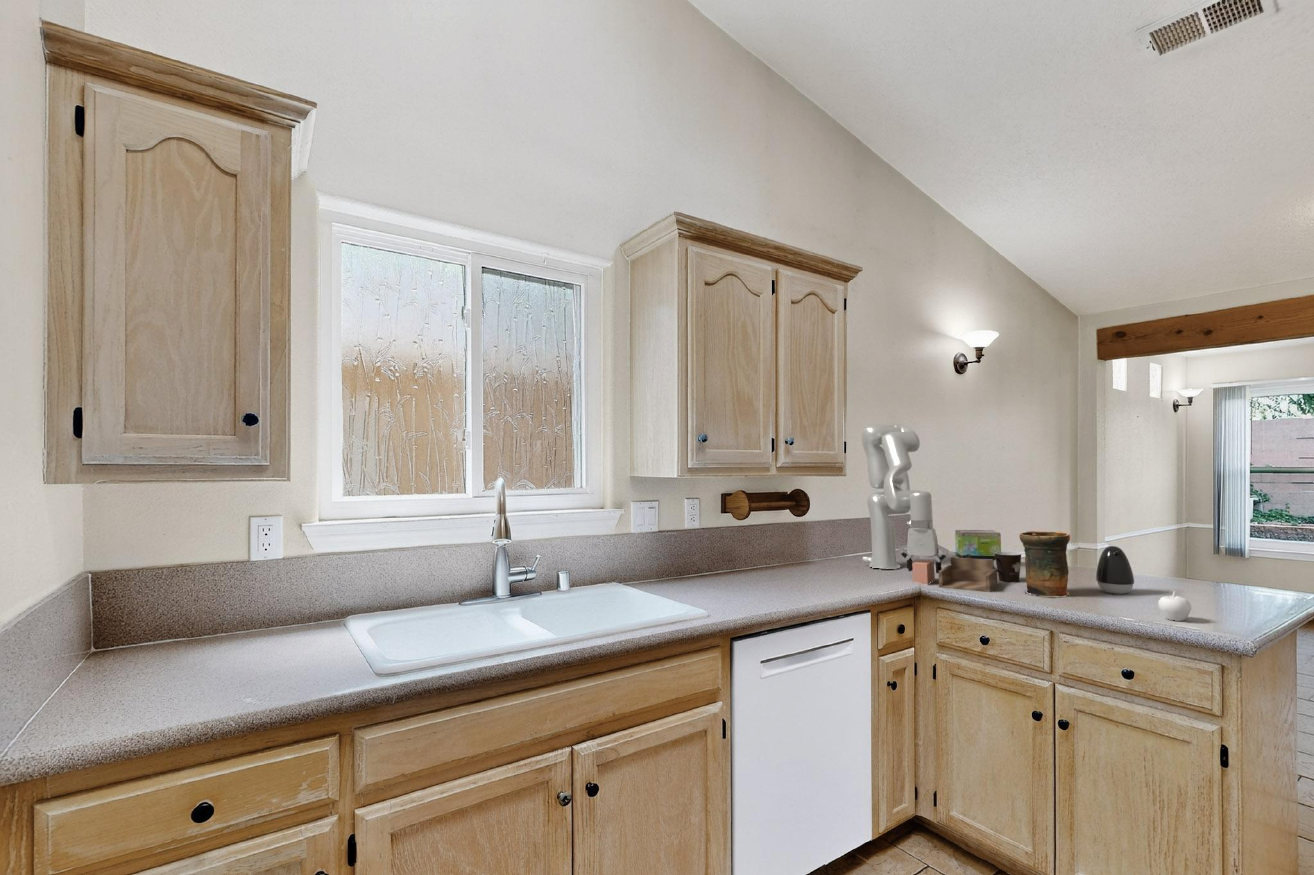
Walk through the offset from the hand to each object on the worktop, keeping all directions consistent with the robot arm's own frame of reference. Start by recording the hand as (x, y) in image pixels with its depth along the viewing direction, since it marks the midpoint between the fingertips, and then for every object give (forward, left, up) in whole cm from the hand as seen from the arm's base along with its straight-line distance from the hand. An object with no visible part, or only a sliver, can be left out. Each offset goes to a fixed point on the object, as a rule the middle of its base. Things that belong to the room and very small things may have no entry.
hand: (924, 571), depth 233 cm
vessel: (+39, -1, -4) cm, 39 cm away
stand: (+15, 0, -4) cm, 15 cm away
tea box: (+10, +45, -4) cm, 47 cm away
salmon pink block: (0, 0, -4) cm, 4 cm away
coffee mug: (+24, +16, -4) cm, 29 cm away
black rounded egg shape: (+57, +11, -4) cm, 58 cm away
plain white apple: (+71, -22, -4) cm, 74 cm away
